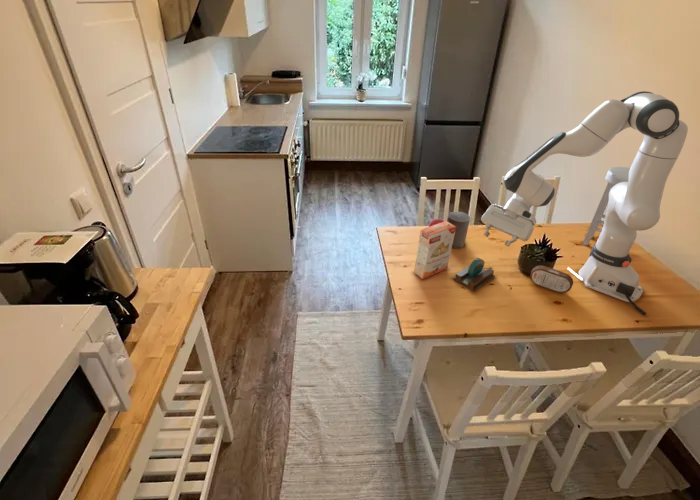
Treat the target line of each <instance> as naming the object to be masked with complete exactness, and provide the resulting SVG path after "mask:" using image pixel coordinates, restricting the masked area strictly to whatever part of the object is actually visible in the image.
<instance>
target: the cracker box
mask: <svg viewBox="0 0 700 500" xmlns="http://www.w3.org/2000/svg"><path fill="white" fill-rule="evenodd" d="M455 231H456V226H454V225H452V224H451V223H449V222H447V220H444V222H442V223H439V224H436V225H433V226H430V227H429V226H428V227H424V228H421V229H420V232H419V239H418V245H417V251H416V258H415V264H414V271H413V273H414V274H415V275H417V277H419V278H420V279H422V280H425V279H428V278H429V277H432V276H434V275H436V274H439V273H441V272H444V271H446V270H447V269H448V266H449V262H450V257H451V253H452V248H453V247H452V244H453V240H454V235H455Z"/></svg>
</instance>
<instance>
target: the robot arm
mask: <svg viewBox="0 0 700 500" xmlns="http://www.w3.org/2000/svg"><path fill="white" fill-rule="evenodd" d="M629 128H632V129H633V130H636V131H638V132H640V133H641V134H643V139H642V142H641V144H640V146H639V148H638V149H637V152H636V154H635V157H634V158H633V161H632V162H631V166H630V167H629V168H630V170H629V179H628V182H621V183H618V184H616V185H615V186H613V187H612V188H611V190H610V192H609V202H608V204H607V206H606V210H605V211H606V212H605V215H606V216H605V218H604V220H603V221H604V225H603V226H602V228H601V229H602V231H601V232H600V234H599V236H598V238H597V241H596V243H595V244H593V246H592V248H591V250H590V252H589V255H588V259H587V260H586V262H585V263H584V264H583V266H582V267H581V268H580V269H579V270H578V273H576V272H575V271H574V270H573V269H571V268H570V267H567V271H569V272H570V273H571V274H573V275H574V276H576V277H577V279H579V280H581V281H583V283H584V286H585V287H587V288H589V289H590V290H593V291H597V292H599V293H602V294H604V295H607V296H610V297H612V298H615V299H617V300H620V301H623V302H626V303H630V304H631V306H633V307H634V308H635V309H636V310H637V311H639V312H640V313H641V314H643V315H644V316H645V315H647V312H646V311H644V310H643V309H642V308H640V307H639V306H638V305H637V304H636V303H635V302H636V301H638V300H639V299H640V298H641V296H643V291H644V290H643V287H642V286H641V285H639V284H640V280H641V279H640V275H639V273H637V271H636V270H635V269H634V268H633V266H632V265H631V263H632V262H633V259H634V256H633V255H632V256H631V255H630V254H629V253H630V251H631V249H632V247H633V245H634V243H635V242H636V239H637V231H638V232H639V231H641V232H643V231H646V230H649V229H651V228H653V227H655V226H656V225H657V224H658V223H659V221H660V218H661V203H662V199H663V194H664V190H665V186H666V183H667V180H668V178H669V176H670V173H671V171H672V170H673V168H674V166H675V164H676V163H677V160H678V159H679V156H680V154H681V152H682V149H683V148H684V145H685V142H686V139H687V134H688V131H689V127H688V125H687V123H685V122H684V121H683V120H681V119H680V110H679V108H678V106H677V105H676V103H674V102H673V101H672V100H670V99H668V98H666V97H665V96H663V95H661V94H656V93H654V92H651V91H646V90H645V91H644V90H643V91H638V92H635V93H632V94H630V95H628V96H627V97H625V98H623V99H621V100H618V99H607V100H605V101H603V102H602V103H601V104H600V105H598V106H597V107H596V108H594V109H593V110H592V111H591V112H590V113H589V114H587V116H586V117H585V118H584V119H583V120H582V121H581V122H580V123H579V124H578V125H576V126H575V127H574V128H572V129H571V130H568V131H567V132H564V131H561V132H558V133H556V134H555V135H553V136H552V137H550V139H548V140H546V142H544V143H543V144H542V145H541V146H539V147H538V148H537V149H535V150H534V151H533V152H532V153H530V154H529V155H528V156H526V158H525V159H523V160H522V161H521V162H520V163H518V164H517V165H515V166H514V167H512V168H511V169H509V171H508V172H507V173H506V174H505V176H504V178H503V183H504V188H505V189H506V190H508V191H509V192H512V193H513V195H512V196H511V197H510V198H509V199H508V201H507V202H506V203H505V205H504V206H502V205H499V204H497V203H493V204H490V205H489V206H488V208H487V209H486V211H485V212H484V213H483V215H481V217H480V220H481V223H482V224H483V225H485V231H484V232H483V235H484V236H485V237H487V238H488V237H489V236H490V235H491V233H490V232H489V230H491V228H493V229H495V230H497V231H500V232H502V233H504V234H506V235H508V236H511V239H510V240H505V242H504V246H506V247H510V246H511V245H512V244H514V243H515V242H517V241H518V240H520V241H522V242H525V243H526V242H527V241H529V240H530V239H531V237H532V235H533V233H534V229H535V228H534V227H535V226H536V224H537V219H536V217H535V215H534V214H532V212H530V211H531V208H532V207H536V208H538V207H540V208H541V207H545V206H547V205H548V204H550V203H551V201H552V200H553V198H554V196H555V191H556V190H555V186H554V185H553V184H552V183H550V182H549V181H548V180H546V178H545V177H544V176H542V175H541V174H539V173H535V172H533V171H532V170H534V169H535V168H536V167H538V166H539V165H540V164H541V163H543V162H544V161H545V160H547V158H549V157H551V156H553V155H557V154H560V155H561V154H563V155H568V156H572V157H579V158H586V157H591V156H595V155H596V154H598V153H599V152H600V151H602V150H603V149H604V148H605V147H606V146H607V145H608V144H609V143H610V142H611V141H612V140H613V139H614V138H615V137H616V135H617V134H619V133H621V132H622V131H624V130H626V129H629Z"/></svg>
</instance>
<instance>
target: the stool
mask: <svg viewBox="0 0 700 500" xmlns="http://www.w3.org/2000/svg"><path fill="white" fill-rule="evenodd" d="M629 170H630V167H627V166H613V167H610V168H609V169H608V170H607V173H606V175H605V177H604V179H605V181H607V185H606V187H605V189H604V192H603V194H602V196H601V199H600V200H599V203H598V205H597V208H596V210H595V213H594V215H593V217H592V219H591V221H590V225H589V227H588V229H587V231H586V234H585V236H584V239H583V241H582V243H581V244H582V245H583V246H588V245H589V244H590V241H591V239H593V238H594V236H595V234H596V232H600V233H601V231H602V229H603V228H600V227H599V226H601V227H603V225H604V221H605V220H602V218H603V219H605V216H606V214H604V213H605V211H606V210H607V207H608V202H609V192H610V190H611V188H612V187H613V186H615V185H616V184H618V183H621V182H628V179H629Z"/></svg>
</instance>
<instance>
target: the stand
mask: <svg viewBox="0 0 700 500" xmlns="http://www.w3.org/2000/svg"><path fill="white" fill-rule="evenodd" d="M469 267H470V265H468V266H467V267H465V268H464V269H462V270H460V271H459V272H457V273H455V276H453V277H452V279H453V280H454V281H456V282H458V283H459V284H461V285H463V286H464V287H466V288H468V289H470V290H471V291H472V292H476V291H477V290H478V289H480V288H481V287H482V286H484V285H485V284H487V283H489V282H490V281H492V280H493V279H494V278H495V275H494V273H495V270H494V269H492V268H490V267H489V268H487V269H485V268H483V269H482V271H481V273H480V274H479V275H478V276H476V277H475V278H473V277H471V276H469V275H468V269H469Z"/></svg>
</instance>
